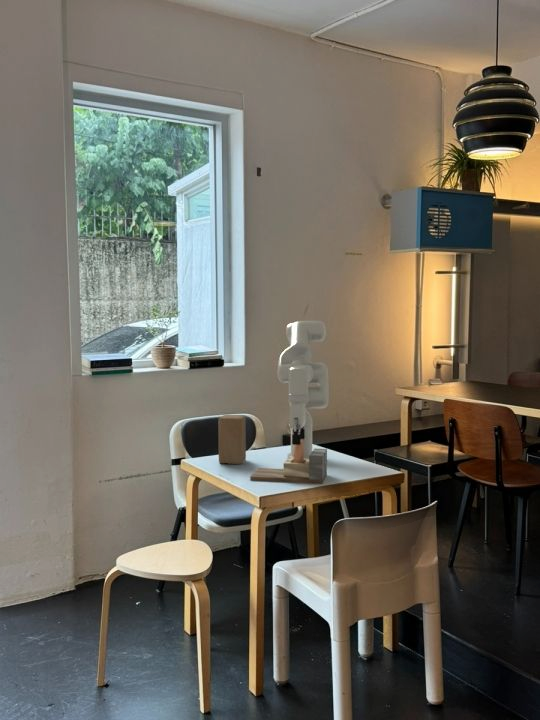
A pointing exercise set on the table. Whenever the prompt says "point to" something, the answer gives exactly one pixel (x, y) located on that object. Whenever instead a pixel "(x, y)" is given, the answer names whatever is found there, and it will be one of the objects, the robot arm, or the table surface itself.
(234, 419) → the block
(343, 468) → the table surface
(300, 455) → the dowel
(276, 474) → the backstop board
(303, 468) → the sliding block
